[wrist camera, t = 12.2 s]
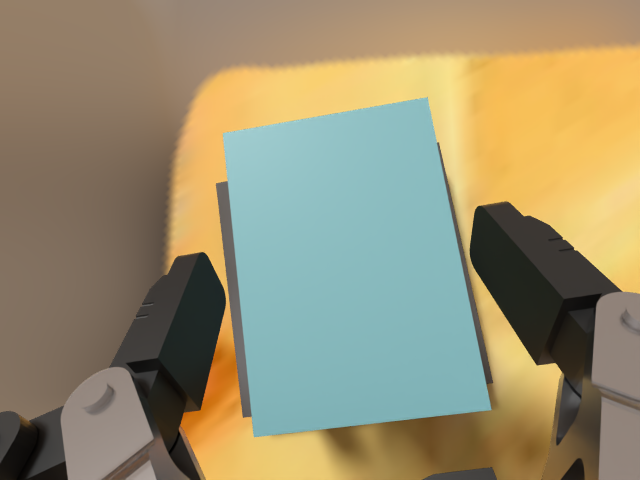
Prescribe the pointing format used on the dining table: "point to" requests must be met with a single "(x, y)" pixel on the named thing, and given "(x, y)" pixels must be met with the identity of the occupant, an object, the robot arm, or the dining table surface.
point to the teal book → (350, 272)
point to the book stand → (235, 299)
